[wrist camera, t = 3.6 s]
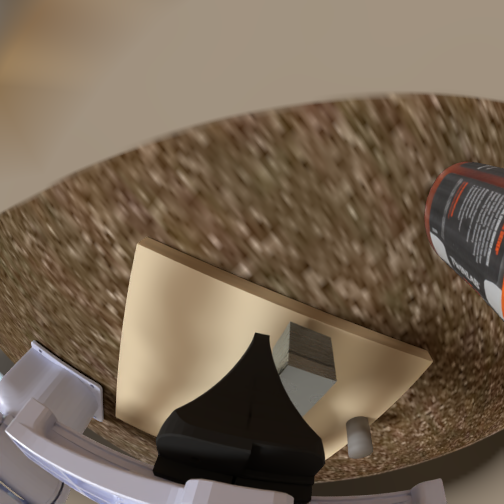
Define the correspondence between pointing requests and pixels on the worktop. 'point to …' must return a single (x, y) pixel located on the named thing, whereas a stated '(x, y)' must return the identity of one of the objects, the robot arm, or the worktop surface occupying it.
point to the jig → (243, 347)
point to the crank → (304, 365)
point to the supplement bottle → (470, 226)
